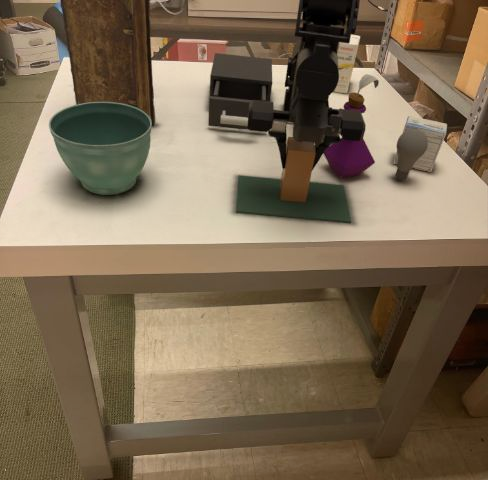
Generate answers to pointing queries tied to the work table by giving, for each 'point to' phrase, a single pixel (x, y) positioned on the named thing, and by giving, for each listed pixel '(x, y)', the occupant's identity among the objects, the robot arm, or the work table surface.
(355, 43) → the ink box
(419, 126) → the medicine box
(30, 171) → the work table surface
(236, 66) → the dark grey box
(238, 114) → the drawer
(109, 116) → the flower pot
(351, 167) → the perfume bottle
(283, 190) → the box
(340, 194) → the front mat
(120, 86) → the book
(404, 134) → the light bulb
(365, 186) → the work table surface
